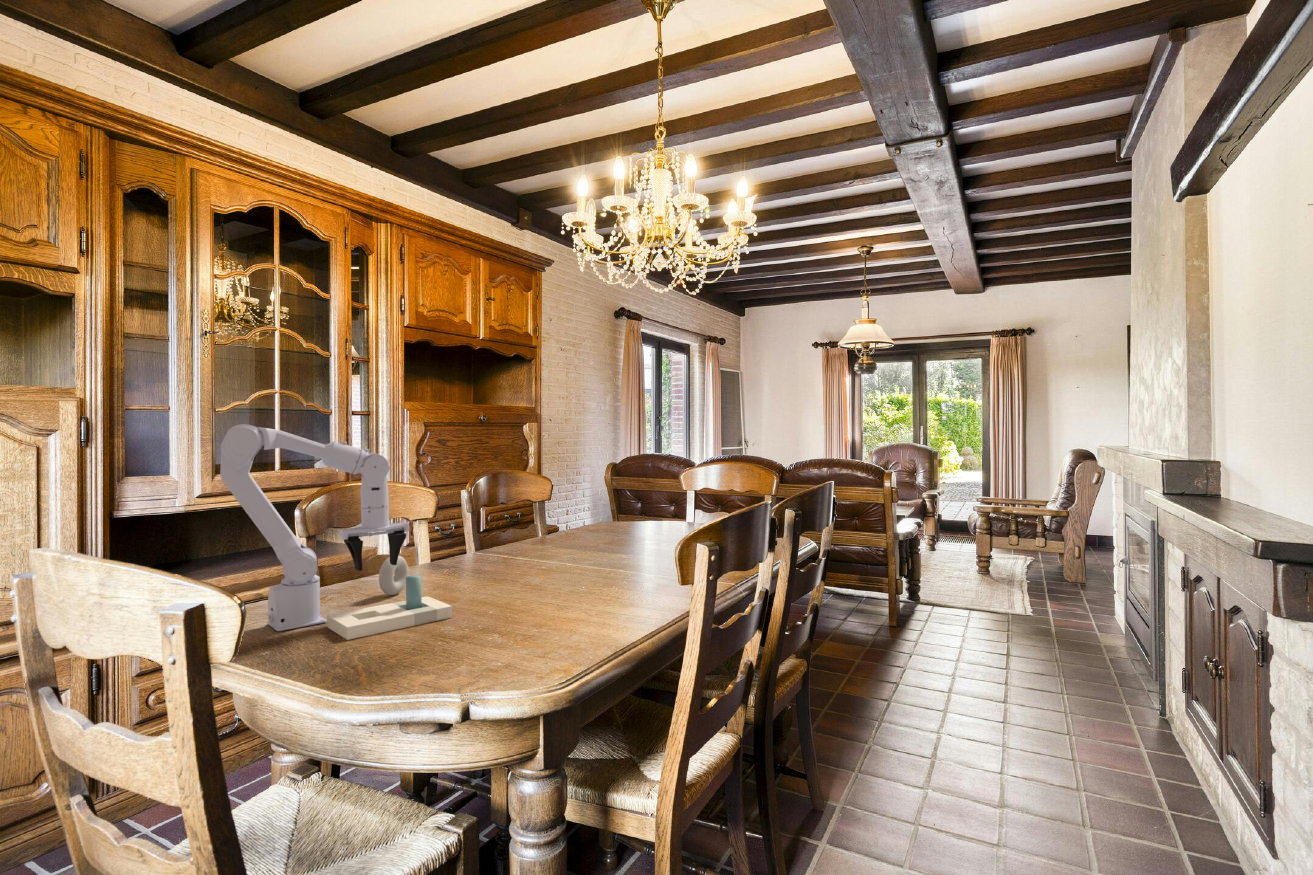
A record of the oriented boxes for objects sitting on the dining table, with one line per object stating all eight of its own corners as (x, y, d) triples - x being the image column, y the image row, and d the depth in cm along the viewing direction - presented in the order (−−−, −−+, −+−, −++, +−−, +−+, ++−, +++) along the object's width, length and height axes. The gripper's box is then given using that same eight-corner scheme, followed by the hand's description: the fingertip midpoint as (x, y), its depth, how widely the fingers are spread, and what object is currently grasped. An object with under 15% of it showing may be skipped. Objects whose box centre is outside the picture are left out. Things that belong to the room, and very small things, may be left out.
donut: (388, 600, 158) (388, 559, 158) (375, 599, 159) (375, 558, 159) (411, 590, 168) (411, 551, 168) (399, 589, 169) (398, 551, 169)
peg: (409, 620, 141) (409, 578, 141) (403, 617, 144) (403, 576, 143) (424, 617, 143) (423, 576, 143) (417, 614, 146) (417, 574, 146)
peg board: (347, 639, 128) (347, 627, 128) (327, 626, 137) (326, 614, 137) (452, 617, 143) (452, 606, 143) (428, 606, 152) (427, 596, 152)
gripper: (347, 511, 138) (349, 575, 139) (414, 505, 149) (415, 564, 149) (335, 509, 144) (337, 570, 144) (401, 502, 154) (402, 560, 154)
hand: (376, 567), depth 147 cm, fingers open, 7 cm apart
